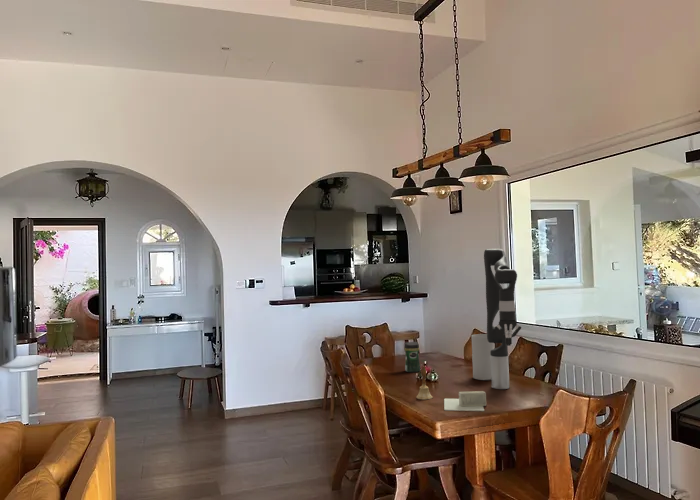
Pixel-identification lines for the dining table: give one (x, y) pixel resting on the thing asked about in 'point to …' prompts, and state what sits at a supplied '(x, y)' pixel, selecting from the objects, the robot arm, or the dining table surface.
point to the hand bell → (424, 387)
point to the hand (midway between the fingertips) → (508, 345)
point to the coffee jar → (412, 357)
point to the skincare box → (472, 398)
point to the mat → (454, 406)
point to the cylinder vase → (481, 357)
